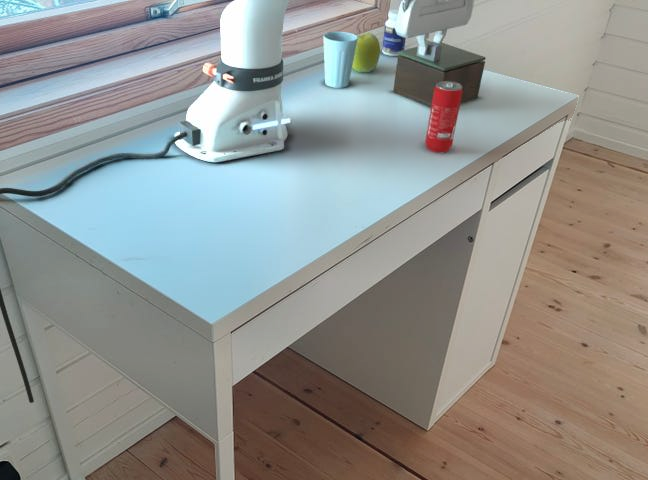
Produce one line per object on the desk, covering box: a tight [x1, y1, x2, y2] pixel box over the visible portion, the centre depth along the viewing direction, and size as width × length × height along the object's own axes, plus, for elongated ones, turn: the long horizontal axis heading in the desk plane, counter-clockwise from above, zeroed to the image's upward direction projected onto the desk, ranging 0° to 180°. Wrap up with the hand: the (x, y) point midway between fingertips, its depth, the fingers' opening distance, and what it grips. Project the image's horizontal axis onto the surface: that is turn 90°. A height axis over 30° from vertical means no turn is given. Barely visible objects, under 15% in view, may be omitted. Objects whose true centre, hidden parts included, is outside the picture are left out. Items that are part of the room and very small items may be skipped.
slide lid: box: [398, 39, 487, 71], centre depth 149 cm, size 14×14×4 cm
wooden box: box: [392, 55, 486, 108], centre depth 153 cm, size 14×14×8 cm
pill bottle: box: [381, 9, 407, 57], centre depth 175 cm, size 6×6×10 cm
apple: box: [352, 28, 381, 74], centre depth 164 cm, size 8×8×10 cm
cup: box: [323, 31, 358, 89], centre depth 155 cm, size 8×8×10 cm
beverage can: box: [425, 81, 463, 154], centre depth 129 cm, size 5×5×12 cm
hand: (428, 52), depth 147 cm, fingers closed on slide lid, 2 cm apart
